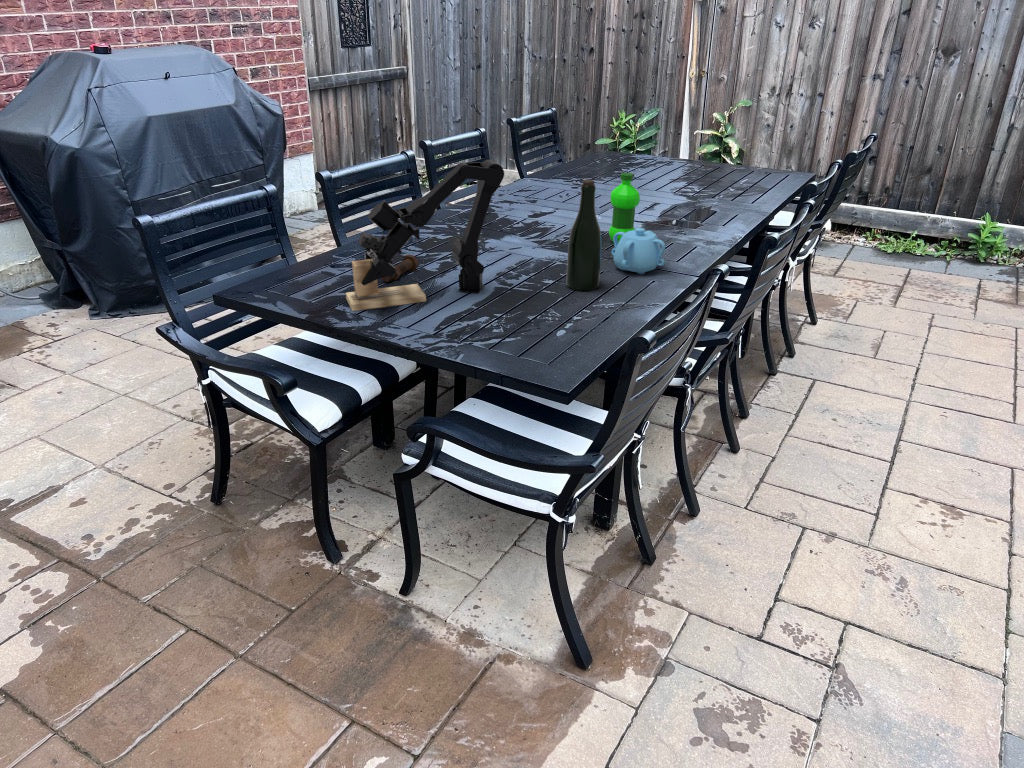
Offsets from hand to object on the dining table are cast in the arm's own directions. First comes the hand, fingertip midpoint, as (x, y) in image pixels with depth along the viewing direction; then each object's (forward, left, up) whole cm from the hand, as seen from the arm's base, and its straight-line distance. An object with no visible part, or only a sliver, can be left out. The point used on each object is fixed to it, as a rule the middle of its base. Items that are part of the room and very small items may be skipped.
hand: (360, 281), depth 217 cm
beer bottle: (-61, -32, -7) cm, 69 cm away
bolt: (-2, -25, -7) cm, 26 cm away
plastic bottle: (-68, -79, -7) cm, 104 cm away
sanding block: (-1, -1, -4) cm, 5 cm away
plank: (-6, -4, -7) cm, 10 cm away
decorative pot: (-76, -53, -7) cm, 92 cm away
